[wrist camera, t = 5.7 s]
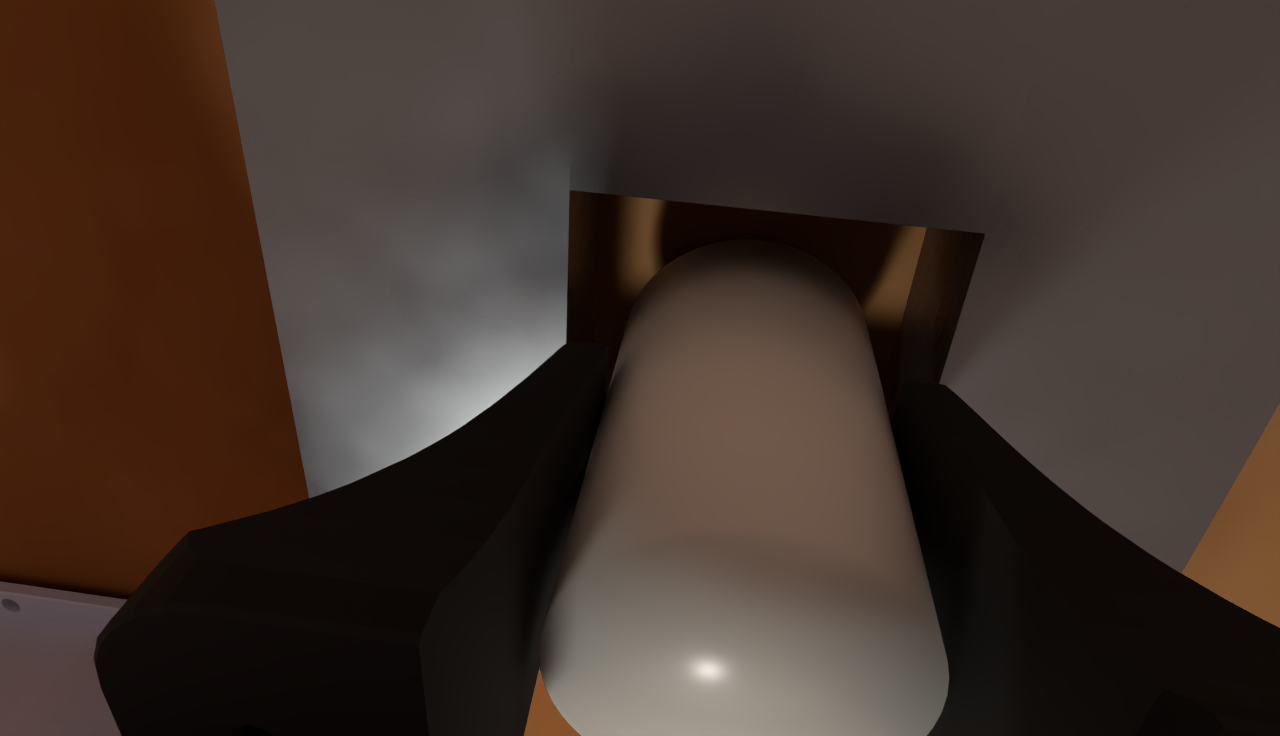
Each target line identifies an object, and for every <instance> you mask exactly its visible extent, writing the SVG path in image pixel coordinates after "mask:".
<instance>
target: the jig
mask: <svg viewBox="0 0 1280 736" xmlns="http://www.w3.org/2000/svg"><path fill="white" fill-rule="evenodd" d="M214 2H215V7H216V12H217V18H218V23H219V28H220V33H221V39H222V44H223V49H224V54H225V59H226V65H227V70H228V75H229V80H230V86H231V91H232V96H233V101H234V107H235V112H236V117H237V122H238V128H239V133H240V138H241V143H242V149H243V154H244V159H245V164H246V170H247V175H248V180H249V185H250V191H251V196H252V201H253V206H254V211H255V217H256V222H257V227H258V232H259V238H260V243H261V248H262V253H263V259H264V264H265V269H266V274H267V280H268V285H269V290H270V295H271V301H272V306H273V311H274V316H275V322H276V327H277V332H278V337H279V343H280V348H281V353H282V358H283V364H284V369H285V374H286V379H287V384H288V390H289V395H290V400H291V405H292V411H293V416H294V421H295V426H296V432H297V437H298V442H299V447H300V453H301V458H302V463H303V468H304V474H305V479H306V484H307V489H308V495H309V498H312V497H315V496H318V495H320V494H323V493H326V492H328V491H331V490H334V489H336V488H339V487H342V486H345V485H347V484H350V483H352V482H355V481H357V480H359V479H361V478H363V477H366V476H368V475H370V474H372V473H375V472H377V471H379V470H381V469H383V468H386V467H388V466H390V465H392V464H394V463H397V462H399V461H401V460H403V459H405V458H407V457H409V456H411V455H413V454H415V453H417V452H419V451H421V450H422V449H424V448H426V447H428V446H430V445H432V444H433V443H435V442H437V441H439V440H441V439H442V438H444V437H446V436H447V435H449V434H450V433H452V432H454V431H455V430H457V429H459V428H460V427H462V426H463V425H465V424H466V423H467V422H469V421H470V420H472V419H473V418H475V417H476V416H477V415H479V414H480V413H482V412H483V411H484V410H486V409H487V408H489V407H490V406H491V405H493V404H494V403H495V402H497V401H498V400H499V399H501V398H502V397H503V396H504V395H506V394H507V393H508V392H509V391H510V390H512V389H513V388H514V387H515V386H517V385H518V384H519V383H520V382H522V381H523V380H524V379H525V378H526V377H528V376H529V375H530V374H531V373H532V372H533V371H535V370H536V369H537V368H538V367H539V366H540V365H541V364H543V363H544V362H545V361H546V360H547V359H548V358H549V357H550V356H552V355H553V354H554V353H555V352H556V351H557V350H558V349H560V348H561V347H562V346H563V345H565V344H566V343H567V342H568V341H578V342H586V343H593V336H594V312H595V288H596V264H597V240H598V216H599V193H603V194H612V195H622V196H631V197H641V198H651V199H660V200H670V201H679V202H689V203H698V204H708V205H717V206H727V207H736V208H746V209H756V210H765V211H775V212H784V213H794V214H803V215H813V216H822V217H832V218H842V219H851V220H861V221H870V222H880V223H889V224H899V225H908V226H918V227H927V231H926V234H925V238H924V242H923V246H922V249H921V253H920V257H919V261H918V264H917V268H916V272H915V276H914V279H913V283H912V287H911V291H910V294H909V298H908V302H907V306H906V309H905V313H904V317H903V321H902V324H901V328H900V332H899V336H898V339H897V343H896V347H895V351H894V354H893V358H892V362H891V366H890V369H889V373H888V377H887V380H886V384H885V388H884V392H883V394H884V398H885V402H886V407H887V411H888V415H889V419H890V423H891V421H892V418H893V414H894V411H895V407H896V404H897V400H898V396H899V393H900V389H901V386H902V382H903V380H910V381H918V382H927V383H935V384H944V385H946V386H947V387H948V388H950V389H951V390H952V391H953V392H954V393H956V394H957V395H958V396H959V397H960V398H961V399H962V400H963V401H964V402H965V403H967V404H968V405H969V406H970V407H971V408H972V409H973V410H974V411H975V412H976V413H977V414H978V415H979V416H980V417H981V418H983V419H984V420H985V421H986V422H987V423H988V424H989V425H990V426H991V427H992V428H993V429H994V430H995V431H996V432H997V433H998V434H1000V435H1001V436H1002V437H1003V438H1004V439H1005V440H1006V441H1007V442H1008V443H1009V444H1010V445H1011V446H1012V447H1014V448H1015V449H1016V450H1017V451H1018V452H1019V453H1020V454H1021V455H1022V456H1023V457H1025V458H1026V459H1027V460H1028V461H1029V462H1030V463H1031V464H1032V465H1034V466H1035V467H1036V468H1037V469H1038V470H1039V471H1041V472H1042V473H1043V474H1044V475H1045V476H1046V477H1048V478H1049V479H1050V480H1051V481H1052V482H1053V483H1055V484H1056V485H1057V486H1058V487H1060V488H1061V489H1062V490H1063V491H1065V492H1066V493H1067V494H1068V495H1070V496H1071V497H1072V498H1073V499H1075V500H1076V501H1077V502H1078V503H1079V504H1081V505H1082V506H1083V507H1084V508H1086V509H1087V510H1088V511H1090V512H1091V513H1092V514H1094V515H1095V516H1096V517H1098V518H1099V519H1100V520H1102V521H1103V522H1104V523H1106V524H1107V525H1109V526H1110V527H1112V528H1113V529H1114V530H1116V531H1117V532H1119V533H1120V534H1122V535H1123V536H1125V537H1126V538H1128V539H1129V540H1130V541H1132V542H1133V543H1135V544H1136V545H1138V546H1139V547H1141V548H1142V549H1143V550H1145V551H1146V552H1148V553H1149V554H1151V555H1152V556H1154V557H1156V558H1157V559H1159V560H1160V561H1162V562H1164V563H1165V564H1167V565H1168V566H1170V567H1171V568H1173V569H1175V570H1176V571H1178V572H1180V573H1182V571H1183V570H1184V568H1185V566H1186V564H1187V563H1188V561H1189V559H1190V558H1191V556H1192V554H1193V552H1194V551H1195V549H1196V547H1197V545H1198V544H1199V542H1200V540H1201V538H1202V537H1203V535H1204V533H1205V532H1206V530H1207V528H1208V526H1209V525H1210V523H1211V521H1212V519H1213V518H1214V516H1215V514H1216V512H1217V511H1218V509H1219V507H1220V506H1221V504H1222V502H1223V500H1224V499H1225V497H1226V495H1227V493H1228V492H1229V490H1230V488H1231V486H1232V485H1233V483H1234V481H1235V480H1236V478H1237V476H1238V474H1239V473H1240V471H1241V469H1242V467H1243V466H1244V464H1245V462H1246V460H1247V459H1248V457H1249V455H1250V453H1251V452H1252V450H1253V448H1254V447H1255V445H1256V443H1257V441H1258V440H1259V438H1260V436H1261V434H1262V433H1263V431H1264V429H1265V427H1266V426H1267V424H1268V422H1269V421H1270V419H1271V417H1272V415H1273V414H1274V412H1275V410H1276V408H1277V407H1278V405H1279V403H1280V0H214Z"/></svg>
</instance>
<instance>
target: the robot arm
mask: <svg viewBox="0 0 1280 736" xmlns="http://www.w3.org/2000/svg"><path fill="white" fill-rule="evenodd" d="M607 364H608V345H603V344H595V343H586V342H578V341H568V342H567V343H566V344H565V345H563V346H562V347H561V348H560V349H558V350H557V351H556V352H555V353H554V354H553V355H552V356H550V357H549V358H548V359H547V360H546V361H545V362H544V363H543V364H541V365H540V366H539V367H538V368H537V369H536V370H535V371H533V372H532V373H531V374H530V375H529V376H528V377H526V378H525V379H524V380H523V381H522V382H520V383H519V384H518V385H517V386H515V387H514V388H513V389H512V390H510V391H509V392H508V393H507V394H506V395H504V396H503V397H502V398H501V399H499V400H498V401H497V402H495V403H494V404H493V405H491V406H490V407H489V408H487V409H486V410H484V411H483V412H482V413H480V414H479V415H477V416H476V417H475V418H473V419H472V420H470V421H469V422H467V423H466V424H465V425H463V426H462V427H460V428H459V429H457V430H455V431H454V432H452V433H450V434H449V435H447V436H446V437H444V438H442V439H441V440H439V441H437V442H435V443H433V444H432V445H430V446H428V447H426V448H424V449H422V450H421V451H419V452H417V453H415V454H413V455H411V456H409V457H407V458H405V459H403V460H401V461H399V462H397V463H394V464H392V465H390V466H388V467H386V468H383V469H381V470H379V471H377V472H375V473H372V474H370V475H368V476H366V477H363V478H361V479H359V480H357V481H355V482H352V483H350V484H347V485H345V486H342V487H339V488H336V489H334V490H331V491H328V492H326V493H323V494H320V495H318V496H315V497H312V498H309V499H306V500H303V501H300V502H297V503H294V504H291V505H288V506H284V507H281V508H278V509H274V510H271V511H268V512H264V513H260V514H256V515H252V516H249V517H245V518H241V519H237V520H233V521H229V522H226V523H222V524H218V525H214V526H210V527H206V528H202V529H197V530H193V531H189V532H188V533H187V534H186V535H185V536H184V537H183V538H182V539H181V540H180V541H179V542H178V544H177V545H176V546H175V547H174V548H173V549H172V550H171V551H170V552H169V553H168V554H167V555H166V556H165V557H164V558H163V560H162V561H161V562H160V563H159V564H158V565H157V566H156V568H155V569H154V570H153V571H152V572H151V573H150V574H149V576H148V577H147V578H146V579H145V580H144V581H143V583H142V584H141V585H140V586H139V587H138V588H137V590H136V591H135V592H134V593H133V594H132V595H131V597H130V598H129V599H128V600H126V599H119V598H112V597H105V596H99V595H92V594H85V593H78V592H71V591H64V590H57V589H50V588H43V587H36V586H30V585H23V584H16V583H9V582H2V581H0V736H524V732H525V727H526V723H527V718H528V714H529V709H530V705H531V701H532V696H533V692H534V688H535V684H536V679H537V675H538V671H539V666H540V663H539V643H540V635H541V632H542V628H543V624H544V621H545V617H546V613H547V610H548V606H549V603H550V599H551V595H552V592H553V588H554V585H555V581H556V577H557V574H558V570H559V566H560V563H561V559H562V556H563V552H564V548H565V545H566V541H567V537H568V534H569V530H570V527H571V523H572V519H573V516H574V512H575V509H576V505H577V501H578V498H579V494H580V490H581V487H582V483H583V480H584V476H585V472H586V469H587V465H588V462H589V458H590V454H591V451H592V447H593V443H594V440H595V436H596V433H597V429H598V425H599V422H600V418H601V415H602V411H603V407H604V404H605V400H606V382H607ZM891 427H892V431H893V436H894V440H895V444H896V448H897V452H898V456H899V461H900V465H901V469H902V473H903V477H904V481H905V486H906V490H907V494H908V498H909V502H910V506H911V510H912V515H913V519H914V523H915V527H916V531H917V535H918V540H919V544H920V548H921V552H922V556H923V560H924V565H925V569H926V573H927V577H928V581H929V585H930V589H931V594H932V598H933V602H934V606H935V610H936V614H937V619H938V623H939V627H940V631H941V635H942V639H943V643H944V648H945V652H946V656H947V661H948V671H949V685H948V693H947V698H946V701H945V704H944V707H943V710H942V713H941V715H940V716H939V718H938V720H937V722H936V723H935V725H934V727H933V729H932V730H931V731H930V732H929V733H928V735H927V736H1280V628H1279V627H1277V626H1275V625H1273V624H1271V623H1269V622H1267V621H1265V620H1263V619H1261V618H1259V617H1257V616H1255V615H1254V614H1252V613H1250V612H1248V611H1246V610H1244V609H1242V608H1240V607H1239V606H1237V605H1235V604H1233V603H1231V602H1229V601H1228V600H1226V599H1224V598H1222V597H1220V596H1219V595H1217V594H1215V593H1214V592H1212V591H1210V590H1209V589H1207V588H1205V587H1203V586H1202V585H1200V584H1198V583H1197V582H1195V581H1193V580H1192V579H1190V578H1188V577H1186V576H1185V575H1183V574H1181V573H1180V572H1178V571H1176V570H1175V569H1173V568H1171V567H1170V566H1168V565H1167V564H1165V563H1164V562H1162V561H1160V560H1159V559H1157V558H1156V557H1154V556H1152V555H1151V554H1149V553H1148V552H1146V551H1145V550H1143V549H1142V548H1141V547H1139V546H1138V545H1136V544H1135V543H1133V542H1132V541H1130V540H1129V539H1128V538H1126V537H1125V536H1123V535H1122V534H1120V533H1119V532H1117V531H1116V530H1114V529H1113V528H1112V527H1110V526H1109V525H1107V524H1106V523H1104V522H1103V521H1102V520H1100V519H1099V518H1098V517H1096V516H1095V515H1094V514H1092V513H1091V512H1090V511H1088V510H1087V509H1086V508H1084V507H1083V506H1082V505H1081V504H1079V503H1078V502H1077V501H1076V500H1075V499H1073V498H1072V497H1071V496H1070V495H1068V494H1067V493H1066V492H1065V491H1063V490H1062V489H1061V488H1060V487H1058V486H1057V485H1056V484H1055V483H1053V482H1052V481H1051V480H1050V479H1049V478H1048V477H1046V476H1045V475H1044V474H1043V473H1042V472H1041V471H1039V470H1038V469H1037V468H1036V467H1035V466H1034V465H1032V464H1031V463H1030V462H1029V461H1028V460H1027V459H1026V458H1025V457H1023V456H1022V455H1021V454H1020V453H1019V452H1018V451H1017V450H1016V449H1015V448H1014V447H1012V446H1011V445H1010V444H1009V443H1008V442H1007V441H1006V440H1005V439H1004V438H1003V437H1002V436H1001V435H1000V434H998V433H997V432H996V431H995V430H994V429H993V428H992V427H991V426H990V425H989V424H988V423H987V422H986V421H985V420H984V419H983V418H981V417H980V416H979V415H978V414H977V413H976V412H975V411H974V410H973V409H972V408H971V407H970V406H969V405H968V404H967V403H965V402H964V401H963V400H962V399H961V398H960V397H959V396H958V395H957V394H956V393H954V392H953V391H952V390H951V389H950V388H948V387H947V386H946V385H944V384H935V383H927V382H918V381H910V380H903V382H902V386H901V389H900V393H899V396H898V400H897V404H896V407H895V411H894V414H893V418H892V421H891Z"/></svg>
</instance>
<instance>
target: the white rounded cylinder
mask: <svg viewBox="0 0 1280 736" xmlns="http://www.w3.org/2000/svg"><path fill="white" fill-rule="evenodd" d="M539 663H540V671H541V674H542V678H543V681H544V685H545V687H546V689H547V691H548V693H549V695H550V698H551V700H552V702H553V703H554V705H555V706H556V707H557V709H558V710H559V712H560V713H561V715H562V716H563V717H564V719H565V720H566V721H567V722H568V723H569V724H570V725H571V726H572V727H573V728H574V730H575V731H576V732H578V733H579V734H580V735H581V736H927V735H928V733H929V732H930V731H931V730H932V729H933V727H934V725H935V723H936V722H937V720H938V718H939V716H940V715H941V713H942V710H943V707H944V704H945V701H946V698H947V693H948V685H949V671H948V661H947V656H946V652H945V648H944V643H943V639H942V635H941V631H940V627H939V623H938V619H937V614H936V610H935V606H934V602H933V598H932V594H931V589H930V585H929V581H928V577H927V573H926V569H925V565H924V560H923V556H922V552H921V548H920V544H919V540H918V535H917V531H916V527H915V523H914V519H913V515H912V510H911V506H910V502H909V498H908V494H907V490H906V486H905V481H904V477H903V473H902V469H901V465H900V461H899V456H898V452H897V448H896V444H895V440H894V436H893V431H892V427H891V423H890V419H889V415H888V411H887V407H886V402H885V398H884V394H883V390H882V386H881V382H880V377H879V373H878V369H877V365H876V361H875V357H874V352H873V348H872V344H871V340H870V336H869V332H868V328H867V324H866V320H865V317H864V314H863V311H862V309H861V307H860V304H859V302H858V300H857V298H856V297H855V295H854V294H853V292H852V291H851V289H850V288H849V286H848V285H847V284H846V283H845V282H844V281H843V280H842V278H841V277H840V276H839V275H838V274H837V273H836V272H834V271H833V270H832V269H831V268H830V267H828V266H827V265H826V264H825V263H823V262H821V261H820V260H818V259H816V258H815V257H813V256H812V255H810V254H807V253H805V252H803V251H801V250H798V249H796V248H793V247H790V246H787V245H783V244H780V243H775V242H769V241H764V240H747V239H744V240H729V241H723V242H718V243H713V244H709V245H706V246H703V247H700V248H697V249H694V250H692V251H690V252H688V253H686V254H683V255H681V256H679V257H678V258H676V259H675V260H673V261H672V262H670V263H668V264H667V265H666V266H664V267H663V268H662V269H661V270H660V271H659V272H657V273H656V274H655V275H654V276H653V277H652V278H651V279H650V281H649V282H648V283H647V284H646V285H645V286H644V288H643V289H642V291H641V292H640V294H639V295H638V297H637V298H636V300H635V302H634V305H633V307H632V309H631V311H630V314H629V317H628V321H627V324H626V328H625V331H624V335H623V339H622V342H621V346H620V349H619V353H618V357H617V360H616V364H615V367H614V371H613V375H612V378H611V382H610V386H609V389H608V393H607V396H606V400H605V404H604V407H603V411H602V415H601V418H600V422H599V425H598V429H597V433H596V436H595V440H594V443H593V447H592V451H591V454H590V458H589V462H588V465H587V469H586V472H585V476H584V480H583V483H582V487H581V490H580V494H579V498H578V501H577V505H576V509H575V512H574V516H573V519H572V523H571V527H570V530H569V534H568V537H567V541H566V545H565V548H564V552H563V556H562V559H561V563H560V566H559V570H558V574H557V577H556V581H555V585H554V588H553V592H552V595H551V599H550V603H549V606H548V610H547V613H546V617H545V621H544V624H543V628H542V632H541V635H540V643H539Z"/></svg>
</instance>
